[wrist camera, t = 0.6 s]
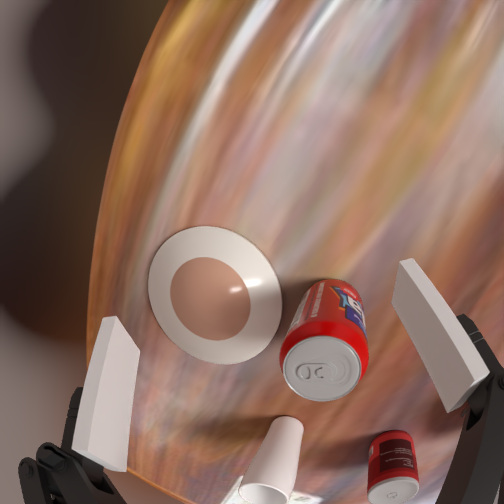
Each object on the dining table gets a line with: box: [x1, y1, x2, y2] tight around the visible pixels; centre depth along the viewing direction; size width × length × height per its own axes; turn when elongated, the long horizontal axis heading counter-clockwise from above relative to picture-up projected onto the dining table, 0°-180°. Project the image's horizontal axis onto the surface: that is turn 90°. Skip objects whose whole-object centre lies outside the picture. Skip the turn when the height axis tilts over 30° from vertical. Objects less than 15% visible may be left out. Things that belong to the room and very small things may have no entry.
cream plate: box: [148, 226, 283, 364], centre depth 41 cm, size 20×20×1 cm
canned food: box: [367, 430, 419, 504], centre depth 32 cm, size 8×8×11 cm
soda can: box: [279, 279, 369, 401], centre depth 29 cm, size 8×8×15 cm
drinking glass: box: [238, 416, 304, 504], centre depth 35 cm, size 7×7×15 cm
